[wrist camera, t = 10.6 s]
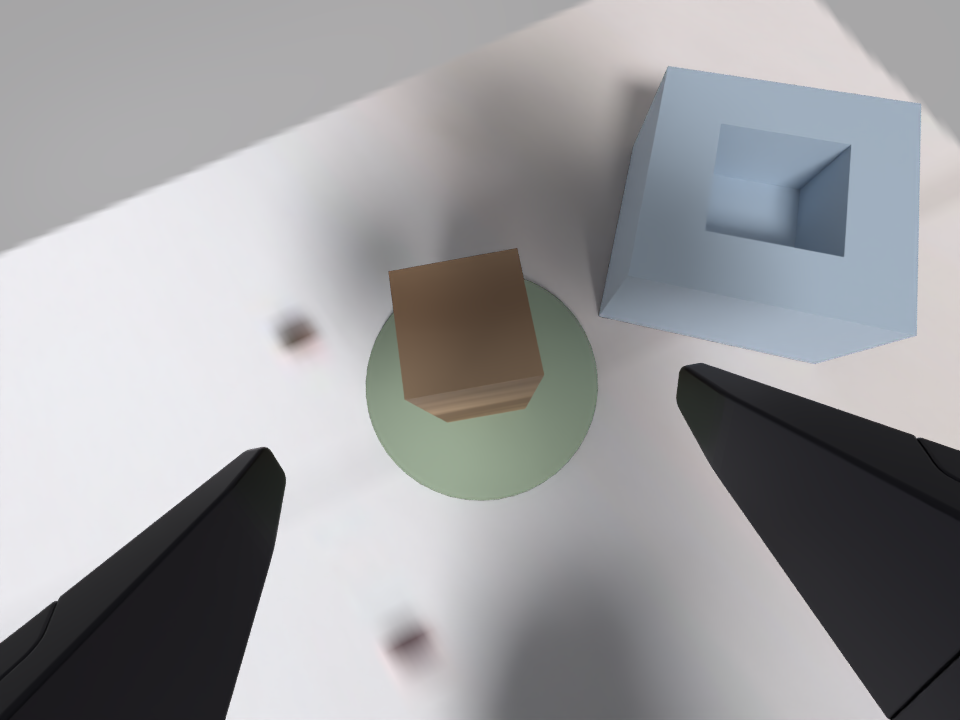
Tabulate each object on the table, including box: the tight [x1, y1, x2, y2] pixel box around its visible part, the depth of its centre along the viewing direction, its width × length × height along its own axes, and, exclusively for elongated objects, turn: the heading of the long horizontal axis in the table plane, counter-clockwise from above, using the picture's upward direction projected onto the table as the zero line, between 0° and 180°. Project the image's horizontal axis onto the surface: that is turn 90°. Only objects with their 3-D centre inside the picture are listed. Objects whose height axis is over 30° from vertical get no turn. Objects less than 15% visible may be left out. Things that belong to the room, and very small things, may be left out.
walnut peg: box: [389, 248, 544, 423], centre depth 16 cm, size 4×4×9 cm
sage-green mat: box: [366, 279, 598, 501], centre depth 20 cm, size 12×12×1 cm
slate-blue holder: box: [599, 66, 921, 364], centre depth 19 cm, size 11×11×5 cm
